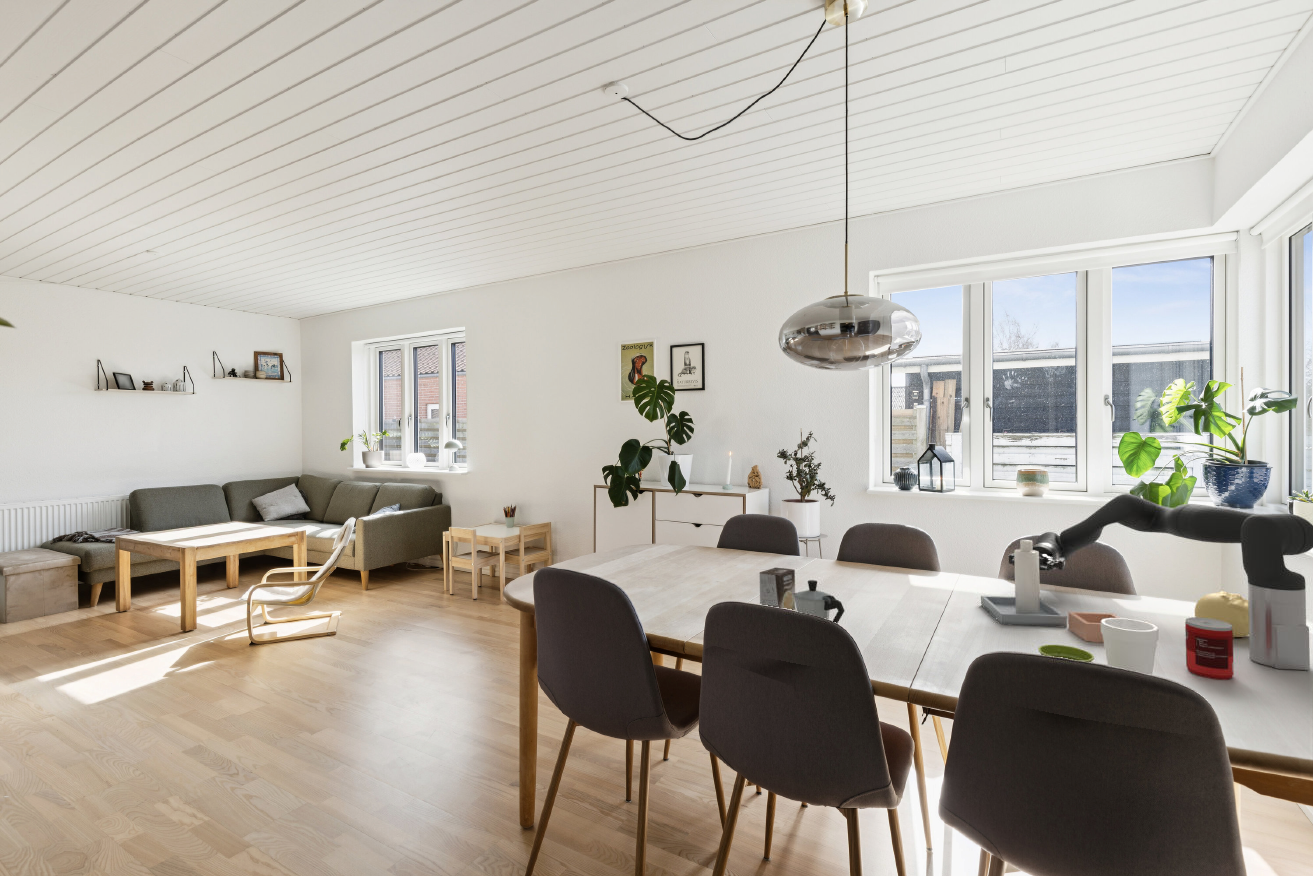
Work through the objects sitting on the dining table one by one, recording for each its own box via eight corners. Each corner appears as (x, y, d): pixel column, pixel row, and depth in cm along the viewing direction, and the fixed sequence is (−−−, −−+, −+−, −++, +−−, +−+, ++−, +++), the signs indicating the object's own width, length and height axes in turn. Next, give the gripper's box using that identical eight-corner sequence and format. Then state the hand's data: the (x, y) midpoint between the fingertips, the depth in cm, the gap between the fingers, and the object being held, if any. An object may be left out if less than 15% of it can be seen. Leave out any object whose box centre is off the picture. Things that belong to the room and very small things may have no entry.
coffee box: (780, 635, 169) (779, 575, 169) (759, 630, 173) (758, 572, 173) (796, 626, 176) (795, 569, 176) (776, 622, 180) (774, 566, 180)
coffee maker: (782, 652, 156) (780, 579, 156) (803, 644, 162) (802, 573, 162) (833, 668, 145) (831, 589, 145) (855, 658, 150) (853, 583, 150)
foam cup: (1140, 679, 134) (1138, 618, 134) (1171, 697, 125) (1169, 631, 125) (1092, 678, 135) (1091, 617, 135) (1119, 696, 126) (1118, 631, 126)
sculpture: (1261, 644, 153) (1260, 600, 153) (1196, 636, 160) (1195, 593, 160) (1254, 632, 162) (1253, 590, 162) (1193, 624, 169) (1192, 584, 169)
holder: (1133, 643, 156) (1133, 625, 156) (1086, 641, 158) (1085, 623, 158) (1113, 630, 166) (1112, 613, 166) (1068, 628, 168) (1068, 612, 168)
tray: (1066, 626, 170) (1066, 616, 170) (1001, 624, 174) (1001, 614, 174) (1039, 606, 190) (1038, 597, 190) (981, 605, 193) (980, 595, 193)
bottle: (1043, 617, 176) (1041, 542, 176) (1019, 617, 177) (1018, 542, 177) (1035, 612, 182) (1034, 539, 182) (1012, 611, 183) (1011, 538, 183)
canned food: (1209, 665, 140) (1208, 616, 140) (1244, 679, 132) (1243, 627, 132) (1176, 667, 140) (1175, 617, 140) (1209, 681, 132) (1208, 628, 132)
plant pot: (1084, 688, 130) (1083, 646, 130) (1103, 707, 121) (1101, 662, 121) (1033, 684, 133) (1032, 643, 133) (1047, 702, 124) (1046, 658, 124)
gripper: (1017, 541, 202) (1004, 549, 190) (1069, 546, 193) (1059, 555, 181) (1017, 564, 203) (1004, 574, 191) (1069, 571, 193) (1059, 581, 181)
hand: (1031, 565), depth 186 cm, fingers open, 8 cm apart
